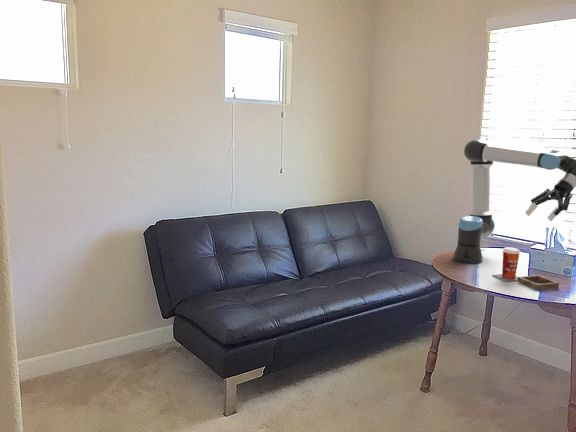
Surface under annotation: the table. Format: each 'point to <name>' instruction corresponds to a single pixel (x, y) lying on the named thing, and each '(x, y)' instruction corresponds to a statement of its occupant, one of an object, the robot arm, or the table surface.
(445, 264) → the table surface
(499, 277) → the mat
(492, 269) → the table surface
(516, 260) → the paper cup
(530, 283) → the brown square open frame
